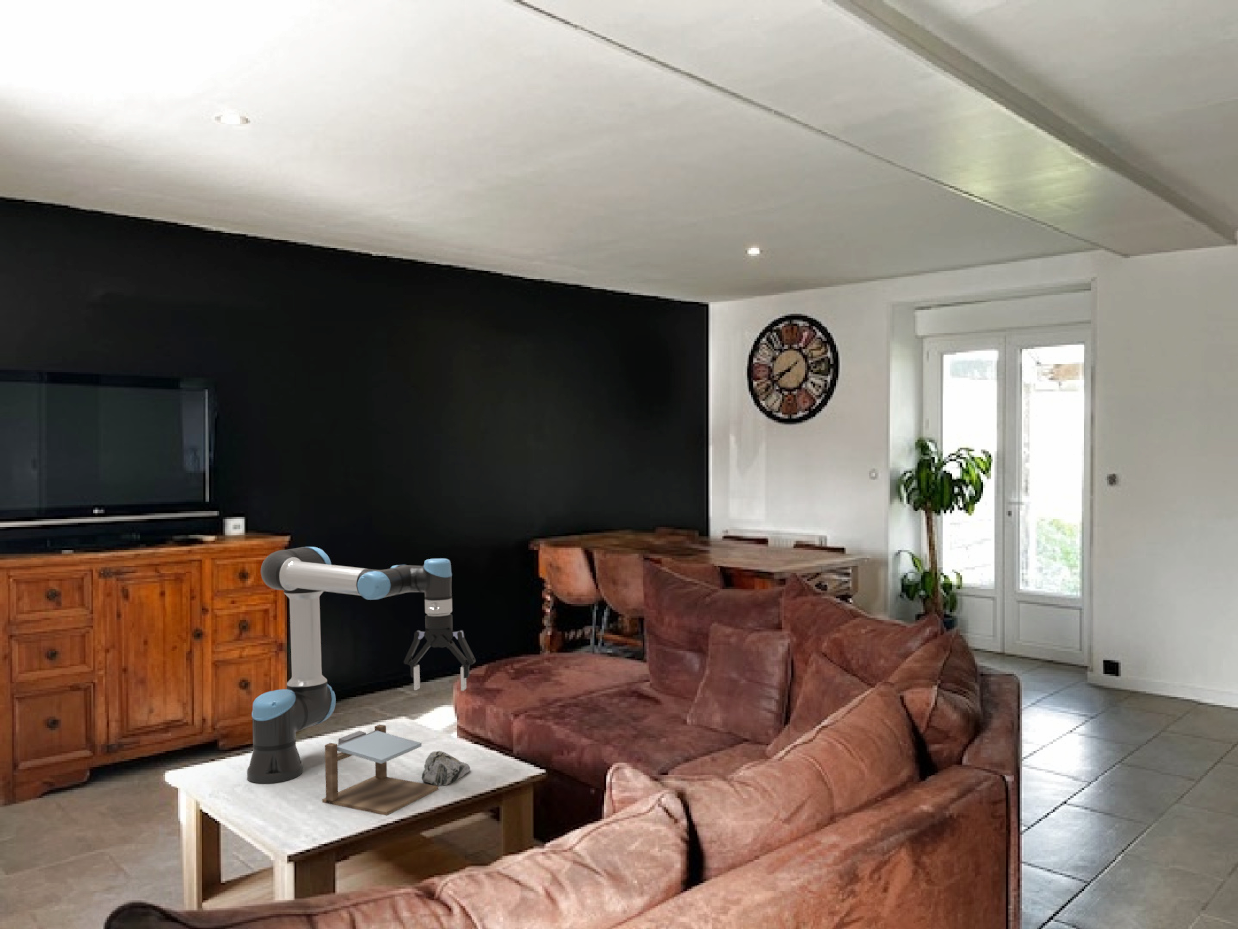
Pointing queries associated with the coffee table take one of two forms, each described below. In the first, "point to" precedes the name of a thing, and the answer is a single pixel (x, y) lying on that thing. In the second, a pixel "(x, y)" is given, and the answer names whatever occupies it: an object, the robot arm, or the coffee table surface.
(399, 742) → the trapdoor
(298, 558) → the robot arm
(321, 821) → the coffee table surface
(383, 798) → the frame
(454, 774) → the rock
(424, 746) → the coffee table surface
